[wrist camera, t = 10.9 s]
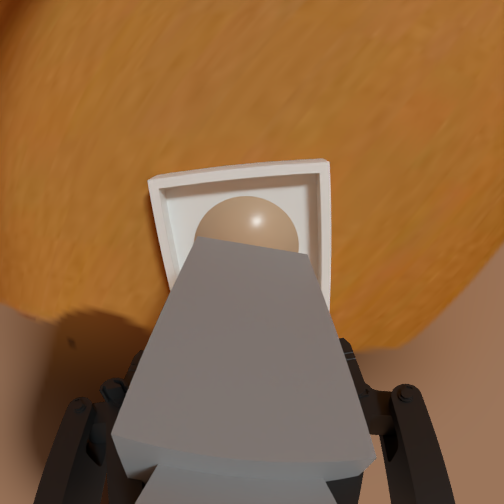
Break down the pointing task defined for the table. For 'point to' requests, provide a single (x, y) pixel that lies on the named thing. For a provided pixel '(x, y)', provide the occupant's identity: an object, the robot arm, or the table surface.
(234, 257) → the perfume bottle
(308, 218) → the tray
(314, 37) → the table surface
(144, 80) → the table surface
